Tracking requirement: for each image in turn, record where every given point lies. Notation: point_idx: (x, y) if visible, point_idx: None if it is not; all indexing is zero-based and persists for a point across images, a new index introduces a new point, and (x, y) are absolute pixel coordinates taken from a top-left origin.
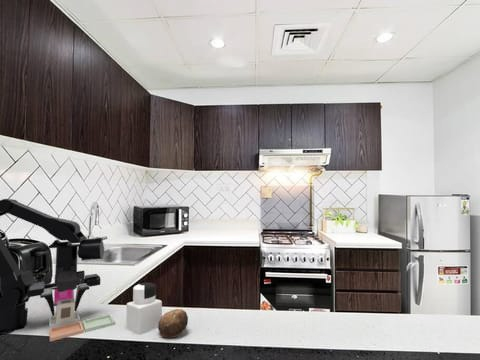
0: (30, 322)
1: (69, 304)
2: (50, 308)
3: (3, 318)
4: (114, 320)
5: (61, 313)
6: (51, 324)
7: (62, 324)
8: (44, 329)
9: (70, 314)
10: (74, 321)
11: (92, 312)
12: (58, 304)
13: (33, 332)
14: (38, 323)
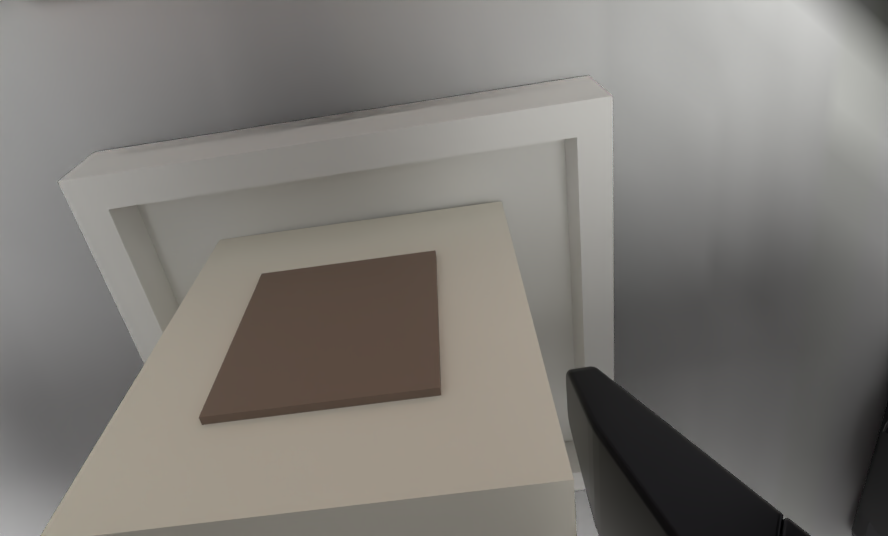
0: (794, 518)
1: (217, 484)
2: (719, 467)
3: None
4: None
5: (426, 309)
6: (579, 140)
7: (383, 123)
8: (659, 161)
9: (246, 302)
10: (172, 150)
11: (37, 508)
12: (544, 523)
13: (815, 118)
14: (718, 447)
